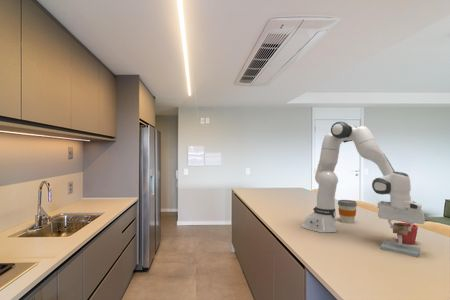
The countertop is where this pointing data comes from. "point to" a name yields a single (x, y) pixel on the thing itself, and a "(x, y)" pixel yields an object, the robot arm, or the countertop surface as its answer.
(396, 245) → the post block
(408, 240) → the flower pot
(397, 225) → the collar
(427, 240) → the countertop surface
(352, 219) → the reusable coffee cup
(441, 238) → the countertop surface
